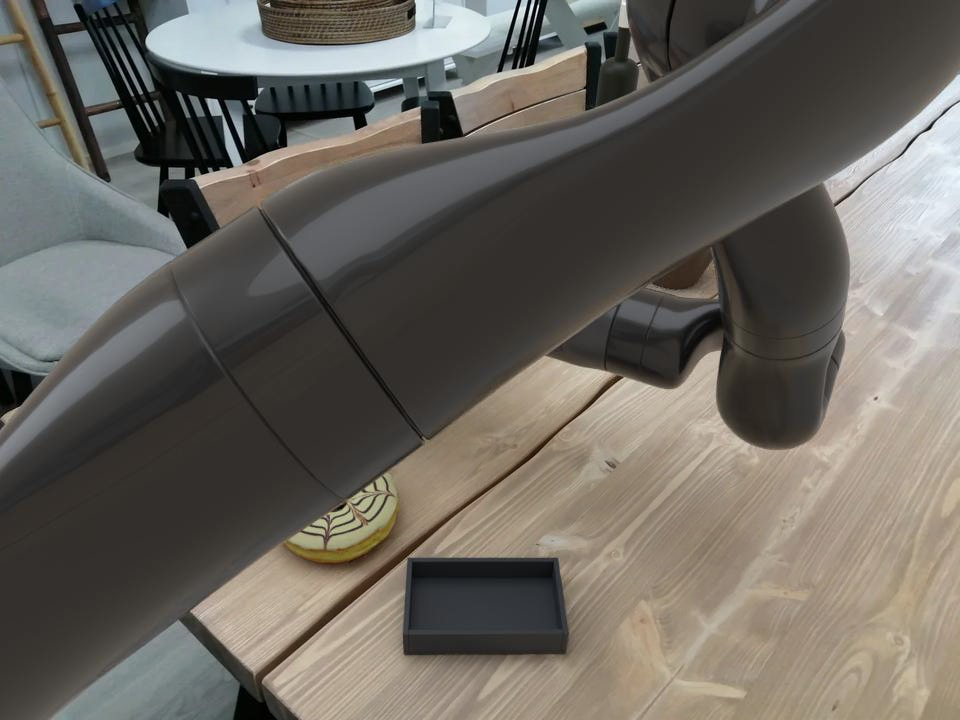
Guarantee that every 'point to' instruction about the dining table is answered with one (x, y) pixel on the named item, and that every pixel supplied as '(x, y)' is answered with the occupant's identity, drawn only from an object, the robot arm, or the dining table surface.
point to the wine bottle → (618, 67)
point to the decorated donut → (350, 526)
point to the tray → (484, 606)
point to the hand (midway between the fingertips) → (390, 262)
